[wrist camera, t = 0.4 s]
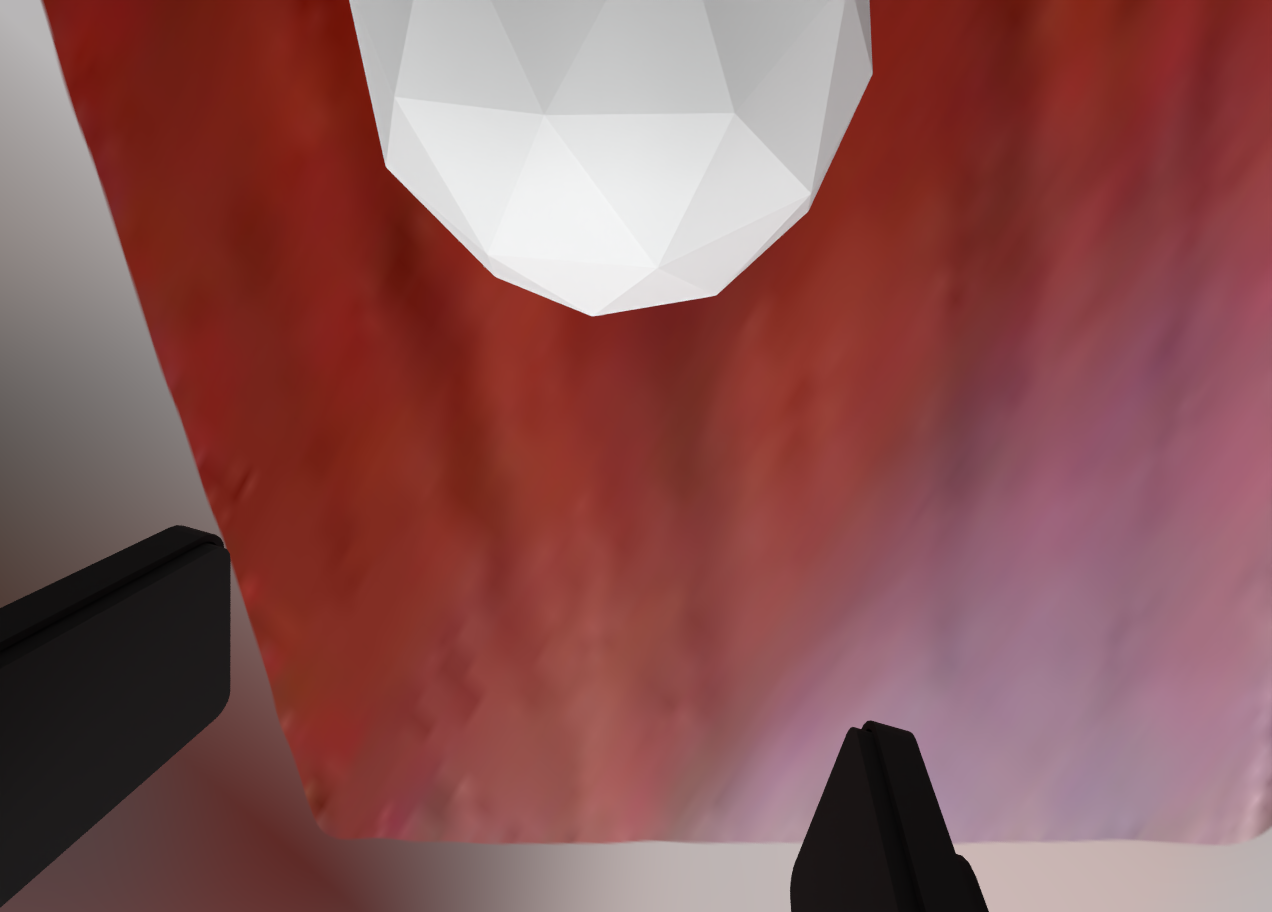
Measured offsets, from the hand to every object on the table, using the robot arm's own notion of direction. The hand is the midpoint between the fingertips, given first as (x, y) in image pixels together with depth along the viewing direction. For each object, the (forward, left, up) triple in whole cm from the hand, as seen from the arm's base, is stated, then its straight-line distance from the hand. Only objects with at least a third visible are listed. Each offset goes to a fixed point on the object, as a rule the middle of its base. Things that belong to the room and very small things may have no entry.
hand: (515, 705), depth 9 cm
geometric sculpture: (-6, -12, -31) cm, 34 cm away
